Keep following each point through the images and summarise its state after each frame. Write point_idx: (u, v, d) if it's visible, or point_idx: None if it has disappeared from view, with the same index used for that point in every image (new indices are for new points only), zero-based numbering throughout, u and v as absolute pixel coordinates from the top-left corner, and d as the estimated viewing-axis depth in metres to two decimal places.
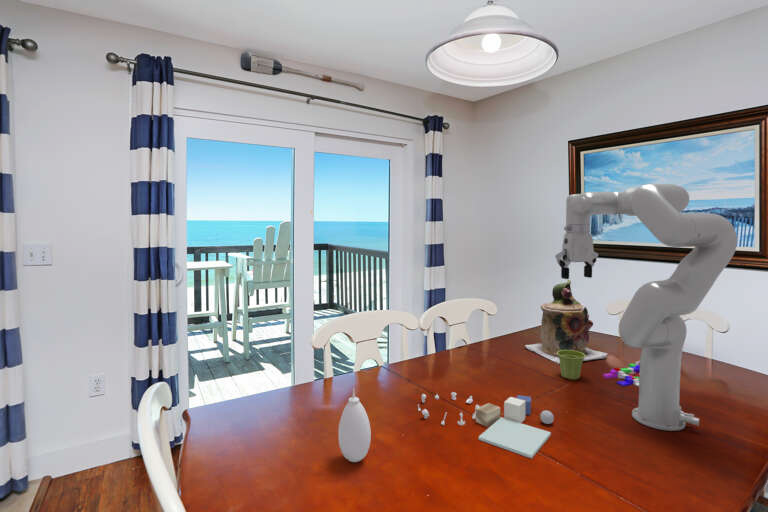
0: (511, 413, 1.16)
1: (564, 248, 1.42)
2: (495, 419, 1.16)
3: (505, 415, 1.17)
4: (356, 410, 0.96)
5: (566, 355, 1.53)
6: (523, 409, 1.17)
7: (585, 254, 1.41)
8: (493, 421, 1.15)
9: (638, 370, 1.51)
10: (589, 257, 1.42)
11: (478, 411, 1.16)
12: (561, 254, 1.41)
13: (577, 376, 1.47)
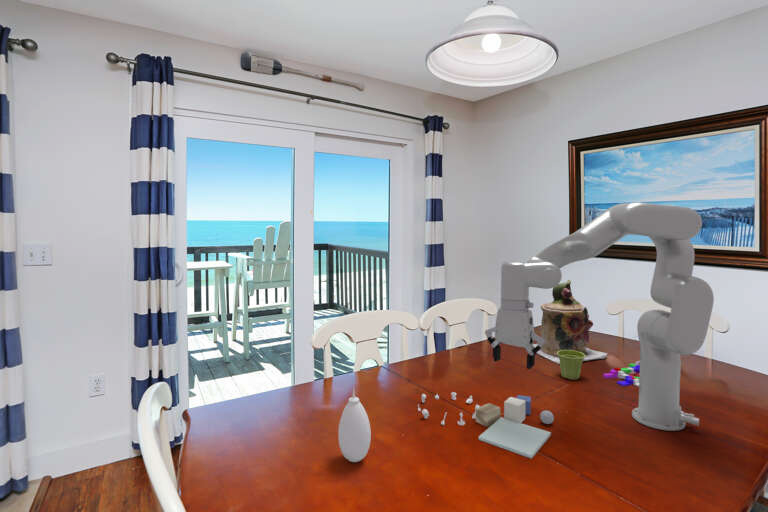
0: (511, 413, 1.16)
1: (530, 330, 1.12)
2: (495, 419, 1.16)
3: (505, 415, 1.17)
4: (356, 410, 0.96)
5: (566, 355, 1.53)
6: (523, 409, 1.17)
7: None
8: (493, 421, 1.15)
9: (638, 370, 1.51)
10: None
11: (478, 411, 1.16)
12: None
13: (577, 376, 1.47)
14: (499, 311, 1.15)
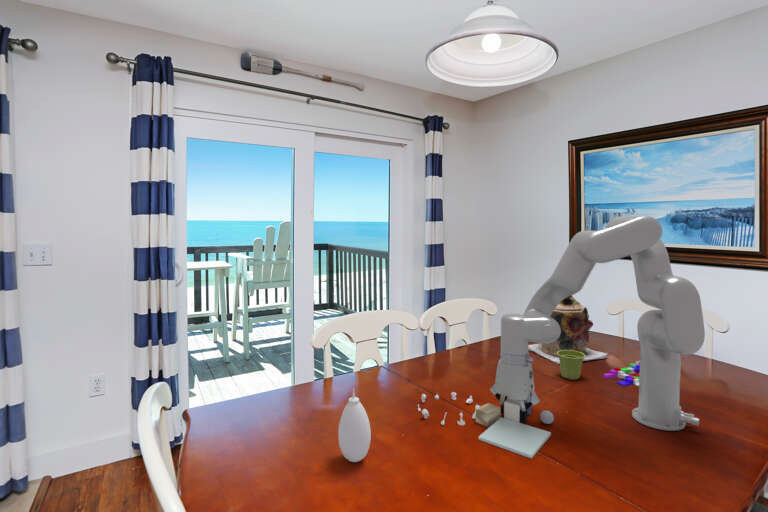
0: (511, 413, 1.16)
1: (530, 384, 1.13)
2: (495, 419, 1.16)
3: (505, 415, 1.17)
4: (356, 410, 0.96)
5: (566, 355, 1.53)
6: None
7: None
8: (493, 421, 1.15)
9: (638, 370, 1.51)
10: None
11: (478, 411, 1.16)
12: None
13: (577, 376, 1.47)
14: (499, 364, 1.17)
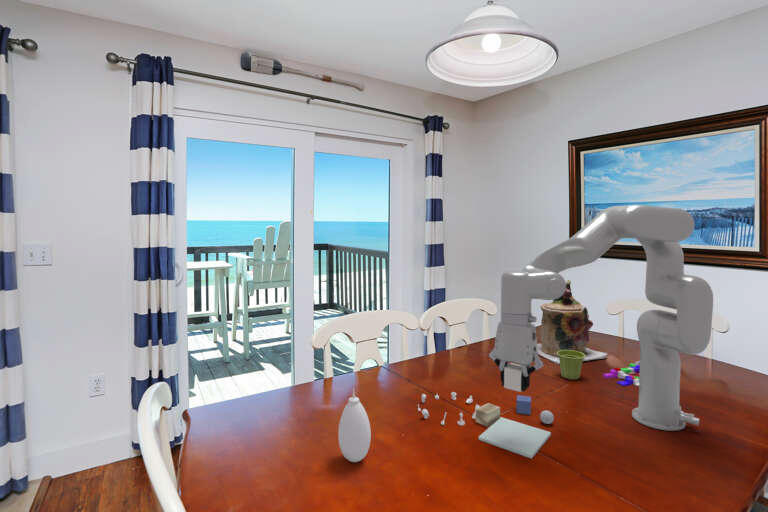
0: (512, 379, 1.05)
1: (533, 347, 1.02)
2: (495, 419, 1.16)
3: (505, 382, 1.07)
4: (356, 410, 0.96)
5: (566, 355, 1.53)
6: None
7: None
8: (493, 421, 1.15)
9: (638, 370, 1.51)
10: None
11: (478, 411, 1.16)
12: None
13: (577, 376, 1.47)
14: (499, 325, 1.06)
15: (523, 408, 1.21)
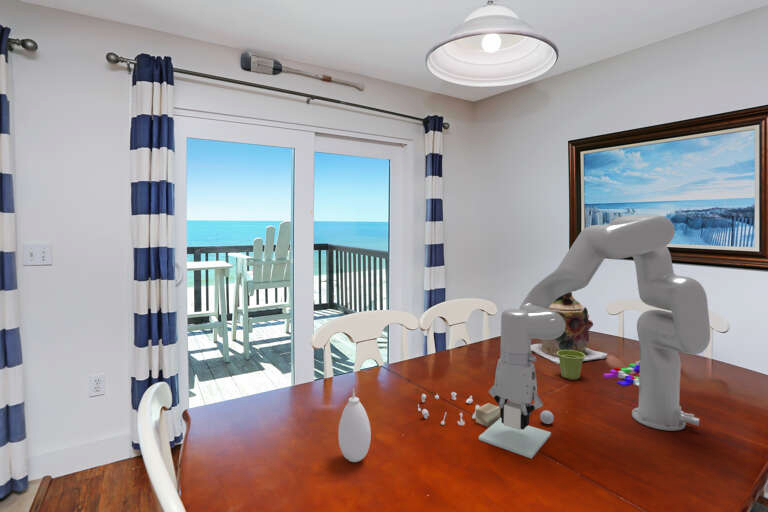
0: (511, 417, 1.06)
1: (533, 386, 1.03)
2: (495, 419, 1.16)
3: (505, 419, 1.07)
4: (356, 410, 0.96)
5: (566, 355, 1.53)
6: None
7: None
8: (493, 421, 1.15)
9: (638, 370, 1.51)
10: None
11: (478, 411, 1.16)
12: None
13: (577, 376, 1.47)
14: (499, 363, 1.07)
15: None
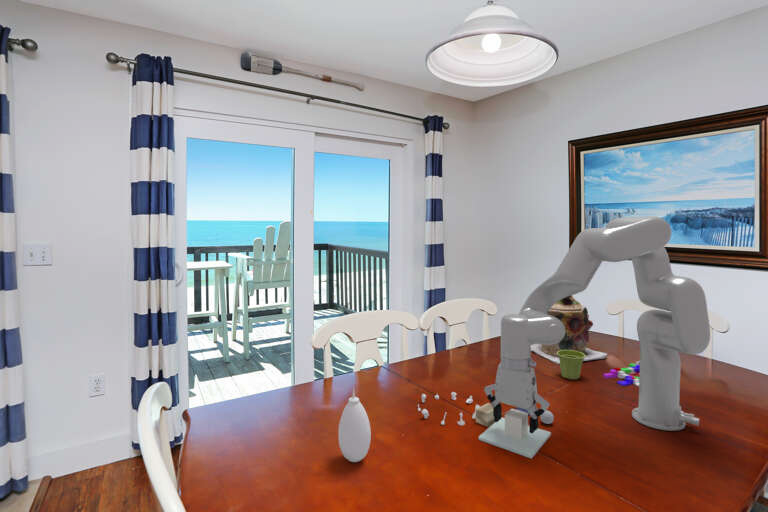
0: (512, 427, 1.06)
1: (533, 391, 1.03)
2: None
3: (506, 429, 1.07)
4: (356, 410, 0.96)
5: (566, 355, 1.53)
6: (525, 422, 1.07)
7: None
8: (493, 421, 1.15)
9: (638, 370, 1.51)
10: None
11: (478, 411, 1.16)
12: None
13: (577, 376, 1.47)
14: (499, 369, 1.07)
15: None
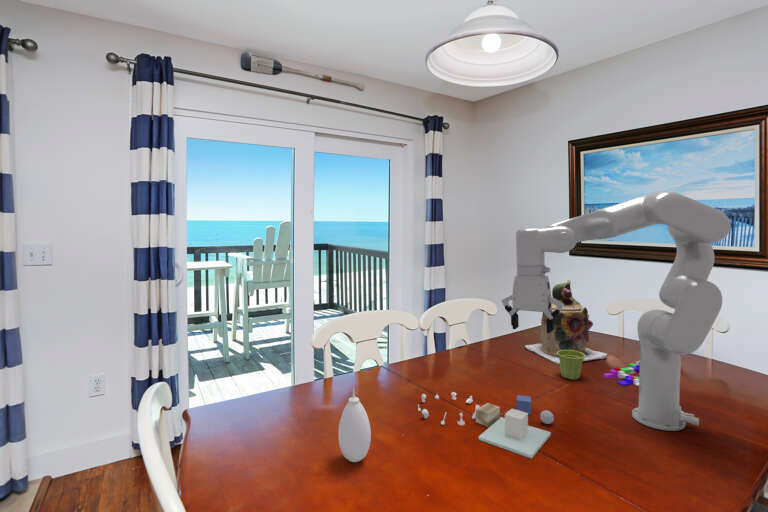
0: (512, 427, 1.06)
1: (548, 295, 1.13)
2: (495, 419, 1.16)
3: (506, 429, 1.07)
4: (356, 410, 0.96)
5: (566, 355, 1.53)
6: (525, 422, 1.07)
7: None
8: (493, 421, 1.15)
9: (638, 370, 1.51)
10: None
11: (478, 411, 1.15)
12: None
13: (577, 376, 1.47)
14: (516, 278, 1.16)
15: (523, 408, 1.21)
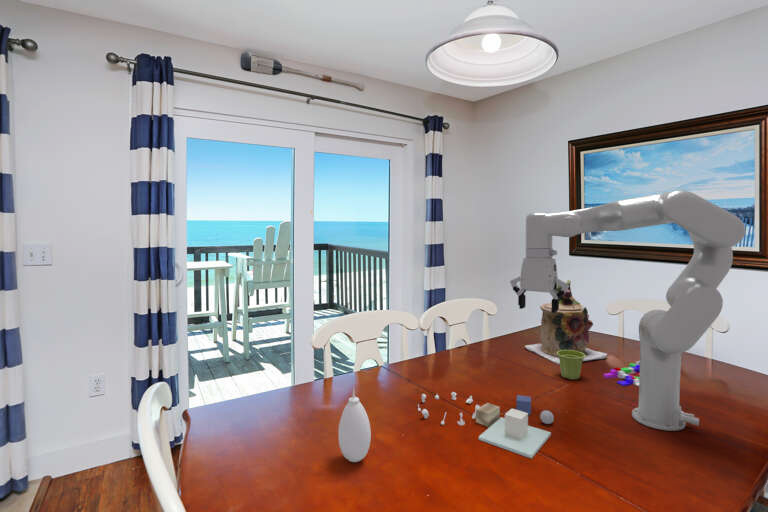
0: (512, 427, 1.06)
1: (554, 276, 1.19)
2: (495, 419, 1.16)
3: (506, 429, 1.07)
4: (356, 410, 0.96)
5: (566, 355, 1.53)
6: (525, 422, 1.07)
7: None
8: (493, 421, 1.15)
9: (638, 370, 1.51)
10: None
11: (479, 411, 1.15)
12: None
13: (577, 376, 1.47)
14: (524, 260, 1.23)
15: (523, 408, 1.21)
